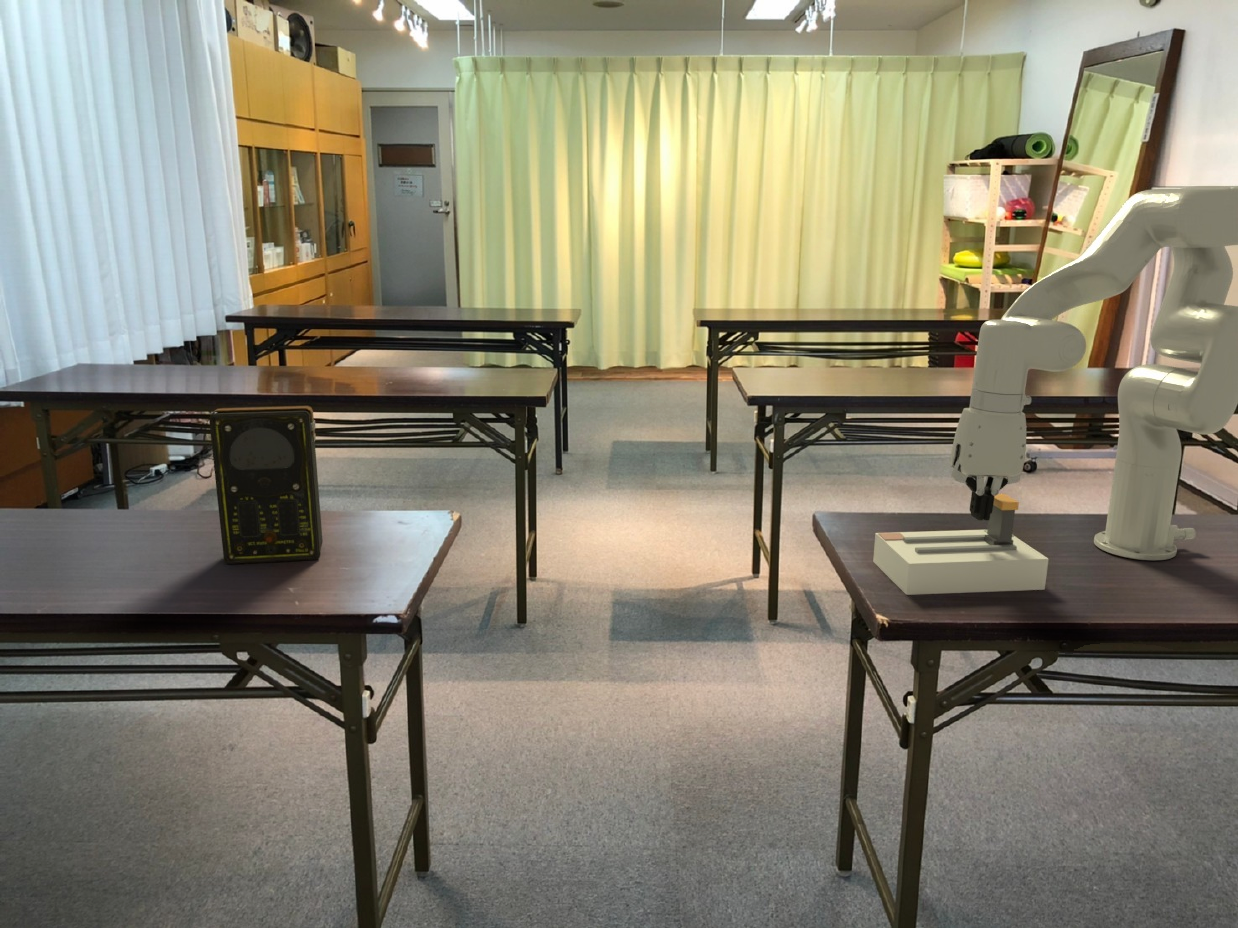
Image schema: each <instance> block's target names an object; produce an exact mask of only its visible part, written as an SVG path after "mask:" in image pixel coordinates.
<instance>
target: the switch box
mask: <svg viewBox="0 0 1238 928" xmlns="http://www.w3.org/2000/svg"><path fill="white" fill-rule="evenodd" d="M987 530H988V529H965V530H964V529H963V530H962V529H961V530H935V531H934V530H932V531H927V530H926V531H899V532H898V531H897V532H896V531H895V532H875V534H874V536H875V537H874V545H873V547H874V548H873V549H874V550H873V561H872V562H873V563H874V564H875V565H876V567H878V568H879V569H880V570H881V571H882V572H883V573H884V574H885V575H886V576H887V578H889V579H890V581H892V582H893V583H894V584H895V585H896V587H898V588H899V589H900V590H901V591H902V592H903V593H904V594H905V595H906V596H907V595H908V596H909V595H912V596H913V595H932V594H934V595H938V594H962V593H963V594H964V593H986V592H987V593H990V592H992V593H993V592H1014V591H1015V592H1017V591H1018V592H1019V591H1020V592H1021V591H1033V590H1034V591H1037V590H1039V591H1042V590H1045V589H1046V583H1047V582H1046V580H1047V574H1048V567H1049V558H1048V557H1047V556H1045V555H1044V554H1042V553H1041V552H1040V551H1037V549H1034V548H1033V547H1032V546H1030V545H1028V543H1025V542H1024V541H1022V539H1019V537H1017V536H1015V535H1014V534H1013V533H1012V540H1013V544H1010V545H990V544H988V543H987V542H985V541H984V540H985V535H988V534H987Z"/></svg>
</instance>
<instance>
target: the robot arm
mask: <svg viewBox="0 0 1238 928" xmlns="http://www.w3.org/2000/svg"><path fill="white" fill-rule="evenodd" d="M1228 246H1229V247H1230V246H1238V185H1197V186H1187V187H1181V188H1173V189H1172V188H1168V189H1167V188H1164V189H1163V188H1161V189H1160V188H1157V189H1145V190H1143V191H1138V192H1137V193H1135V194H1133V195H1131V196H1130V197H1128V198H1127V199H1126V201H1125V202H1124V203H1123V204H1122V205H1121V206H1120V208H1119V209H1118V210H1117V211H1116V213H1114V215H1113V216H1112V217H1111V218H1110V219H1109V221H1108V222H1107V223H1106V225H1105V226H1104V227H1103V229H1101V231H1100V232H1099V233H1098V234H1097V236H1096V237H1095V238H1094V239H1093V241H1091V243H1090V244H1089V245H1088V246H1087V247H1086V249H1085V250H1084V252H1083V253H1081V255H1080V256H1079V257H1077V258H1076V259H1074V260H1073V261H1070V262H1069V263H1067V264H1065V265H1064V266H1061V267H1060V268H1058V269H1057V270H1054V271H1053V272H1051V273H1050V274H1049V275H1047V276H1044V277H1043V278H1041V279H1040V280H1038V281H1037V282H1034V283H1033V284H1032V285H1031V286H1029V287H1028V288H1026V289H1025V290H1024V291H1023V292H1022V293H1021V294H1020V295H1019V296H1018V297H1017V298H1016V299H1015V301H1014V302H1013V303H1012V305H1010V307H1009V308H1008V309H1007V310H1006V311H1005V313H1004V314H1003V316H1001V318H1000V319H989V320H986V321H985V322H984V323H983V324H982V325H981V327H980V330H979V335H978V343H977V349H976V357H975V363H974V370H973V371H974V372H973V378H972V387H971V393H970V400H969V407H965V408H963V410H962V412H961V415H960V418H959V420H958V423H957V427H956V430H955V434H954V438H953V443H952V447H951V453H950V459H949V463H950V466H951V468H953V469H952V472H951V475H950V477H951V479H952V480H954V481H955V482H959V483H962V484H965V485H966V486H967V487H968V489H969V491H970V492H971V497H970V501H969V502H970V504H969V512H970V516H971V517H974V518H975V519H976V520H977V521H989V519H990V514H991V513H992V510H993V503H994V497H995V496H996V495H998V494H1000V493H999V492H1000V491H1001V490H1002V489H1004V487H1006V486H1007V485H1011V484H1016V483H1019V482H1020V481H1021V473H1022V472H1023V469H1024V464H1025V459H1026V450H1027V449H1026V448H1027V419H1026V413H1024V412H1023V410H1024V407H1025V406H1026V405H1031V403H1032V397H1031V396H1030V395H1026V387H1027V386H1026V385H1027V381H1028V380H1027V379H1028V374H1029V371H1030V370H1032V369H1033V370H1039V371H1046V372H1053V373H1055V372H1056V373H1057V372H1065V371H1067V370H1070V369H1072V368H1075V366H1076V365H1078V364H1079V363H1080V362H1081V361H1082V359H1083V357H1084V355H1085V353H1086V349H1087V342H1086V338H1085V335H1084V334H1083V332H1082V331H1081V330H1080V329H1079V328H1078V327H1076V326H1075V325H1073V324H1071V323H1068V322H1063V321H1059V320H1054V319H1055V318H1057V317H1058V316H1060V315H1062V314H1064V313H1065V312H1068V311H1069V310H1072V309H1074V308H1077V307H1081V306H1085V305H1088V304H1092V303H1097V302H1099V301H1103V300H1107V299H1110V298H1113V297H1115V296H1118V295H1119V294H1122V293H1124V292H1125V291H1127V290H1128V288H1129V287H1130V286H1131V285H1132V284H1133V282H1134V281H1135V279H1137V277H1138V276H1139V275H1140V273H1141V272H1142V271H1143V270H1144V269H1145V267H1146V266H1147V265H1148V264H1149V263H1150V261H1151V260H1152V259H1153V258H1154V257H1155V256H1156V254H1158V252H1159V251H1160V250H1162V248H1171V250H1172V255H1173V271H1172V274H1171V276H1170V277H1171V278H1170V281H1169V283H1168V287H1167V289H1166V292H1165V294H1164V296H1163V299H1162V302H1161V303H1160V304H1161V305H1160V308H1159V311H1158V312H1157V315H1156V318H1155V320H1154V324H1153V326H1152V328H1151V329H1152V330H1151V333H1150V345H1151V348H1152V349H1153V351H1155V352H1156V353H1157V354H1159V355H1161V356H1162V357H1166V358H1169V359H1174V360H1180V361H1185V362H1190V363H1194V364H1200V365H1199V368H1198V369H1199V370H1198V371H1197V370H1190V369H1187V368H1184V367H1183V368H1181V367H1177V366H1171V365H1165V364H1157V363H1148V364H1142V365H1138V366H1135V367H1133V368H1132V369H1130V370H1129V371H1128V372H1126V373H1125V374H1124V376H1123V378H1122V379H1121V381H1120V383H1119V386H1118V390H1117V406H1118V407H1117V408H1118V420H1119V421H1118V422H1119V423H1118V424H1119V425H1118V427H1119V428H1118V439H1117V448H1116V455H1115V462H1114V469H1113V474H1112V475H1113V476H1112V483H1111V490H1110V497H1109V504H1108V510H1107V511H1108V512H1107V517H1106V518H1107V519H1106V525H1105V530H1103V531H1100V532H1098V533H1095V535H1094V539H1093V543H1094V545H1095V546H1096V547H1097V548H1098V549H1100V550H1101V551H1104V552H1107V553H1108V554H1111V555H1115V556H1119V557H1123V558H1128V559H1133V560H1140V561H1164V560H1166V561H1167V560H1169V559H1172V558H1174V557H1175V556H1176V555H1177V552H1178V547H1177V546H1176V545H1175V544H1174V542H1178V540H1193V539H1194V540H1195V538H1196V535H1197V533H1196V530H1195V528H1193V527H1181V528H1179V526H1178V525H1177V524H1171V521H1172V515H1173V511H1174V510H1173V509H1174V504H1175V497H1176V490H1177V484H1178V478H1179V473H1180V472H1179V471H1180V466H1181V460H1182V443H1181V439H1180V435H1179V432H1178V430H1179V431H1183V432H1187V433H1193V434H1196V435H1213V434H1216V433H1218V432H1219V431H1221V430H1222V429H1223V428H1224V427H1226V425H1227V424H1228V423H1229V422H1230V421H1231V418H1232V417H1233V415H1234V414H1235V411H1236V409H1237V406H1238V306H1237V305H1230V304H1229V305H1228V304H1225V303H1226V299H1227V297H1228V294H1229V291H1230V288H1231V285H1232V282H1233V278H1234V277H1233V276H1234V267H1233V264H1232V260H1231V258H1230V255H1229V252H1228V250H1227V249H1226V247H1228Z"/></svg>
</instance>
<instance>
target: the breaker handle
mask: <svg viewBox="0 0 1238 928" xmlns="http://www.w3.org/2000/svg"><path fill="white" fill-rule="evenodd" d="M1019 504H1020V503H1019V501H1017V500H1016V499H1014V498H1012V497H1011V496H1009V495H1007V494H1005V493H998V495H996V496H995V497H994V503H993V510H992V513H991V514H990V519H989V520H987V521H988V523H987V529H986V530H987V534H988V535H985V540H984V541H985V542H987V543H988V544H990V545H1010V544H1013V540H1012V534H1013V531H1014V524H1015V523H1014V521H1015V513H1016V511H1018V510H1019Z"/></svg>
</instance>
